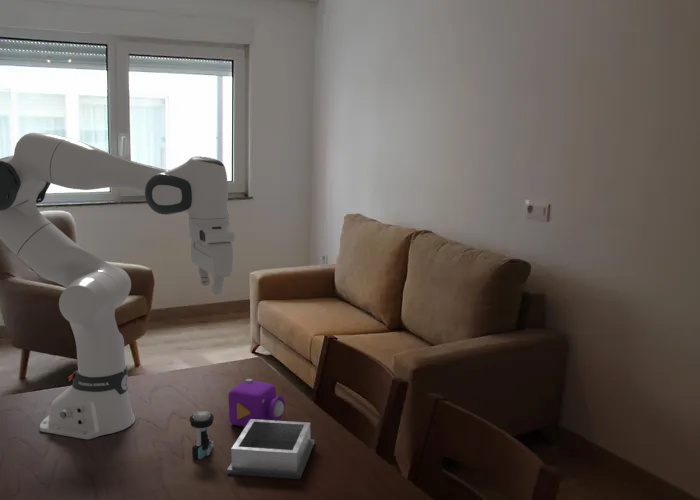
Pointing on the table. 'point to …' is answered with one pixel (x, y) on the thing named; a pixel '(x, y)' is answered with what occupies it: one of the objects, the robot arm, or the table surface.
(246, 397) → the toy camera
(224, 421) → the table surface
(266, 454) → the grey open box
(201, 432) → the push button
